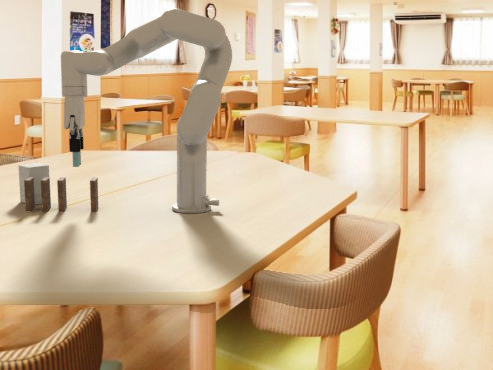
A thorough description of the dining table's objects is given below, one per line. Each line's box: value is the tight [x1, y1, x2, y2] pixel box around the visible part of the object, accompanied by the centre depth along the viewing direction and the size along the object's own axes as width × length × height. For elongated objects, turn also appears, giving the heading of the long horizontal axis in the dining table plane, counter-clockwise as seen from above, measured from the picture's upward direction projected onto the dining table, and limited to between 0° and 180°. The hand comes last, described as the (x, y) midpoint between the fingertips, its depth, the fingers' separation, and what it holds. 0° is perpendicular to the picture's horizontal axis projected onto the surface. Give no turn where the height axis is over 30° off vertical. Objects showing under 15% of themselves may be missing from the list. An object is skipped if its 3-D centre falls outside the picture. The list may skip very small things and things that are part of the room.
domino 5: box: [89, 177, 99, 213], centre depth 192 cm, size 2×5×10 cm, turn 5°
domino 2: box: [41, 176, 52, 213], centre depth 191 cm, size 2×5×10 cm, turn 5°
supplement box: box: [17, 162, 50, 206], centre depth 200 cm, size 7×7×13 cm
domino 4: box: [72, 133, 82, 168], centre depth 189 cm, size 2×5×10 cm, turn 6°
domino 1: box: [24, 177, 36, 212], centre depth 190 cm, size 2×5×10 cm, turn 6°
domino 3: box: [56, 177, 68, 213], centre depth 191 cm, size 2×5×10 cm, turn 6°
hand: (76, 149), depth 189 cm, fingers closed on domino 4, 4 cm apart
